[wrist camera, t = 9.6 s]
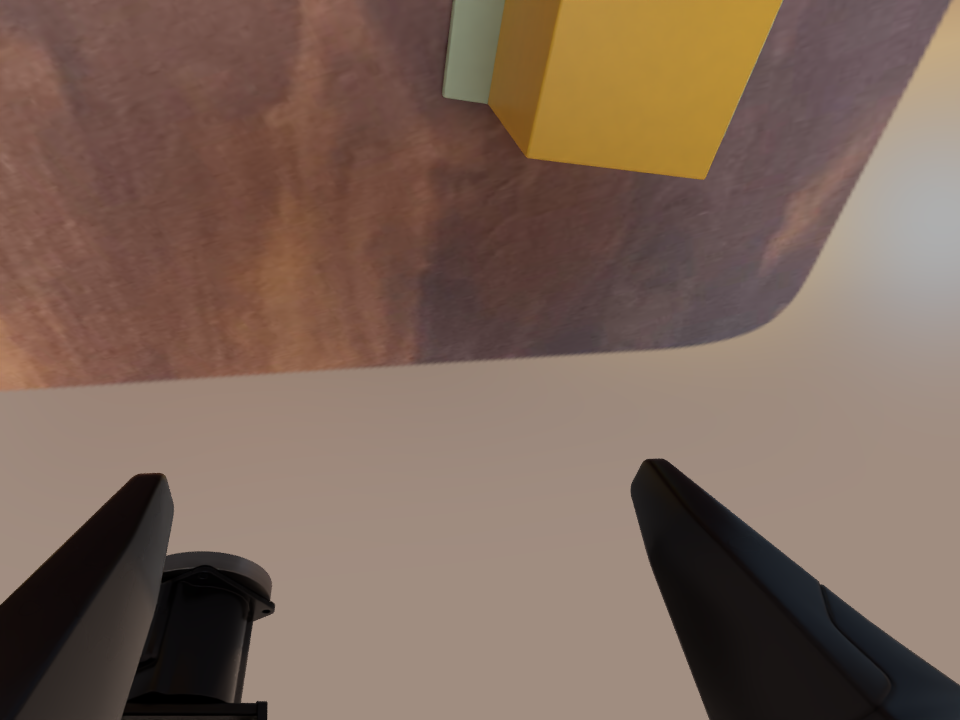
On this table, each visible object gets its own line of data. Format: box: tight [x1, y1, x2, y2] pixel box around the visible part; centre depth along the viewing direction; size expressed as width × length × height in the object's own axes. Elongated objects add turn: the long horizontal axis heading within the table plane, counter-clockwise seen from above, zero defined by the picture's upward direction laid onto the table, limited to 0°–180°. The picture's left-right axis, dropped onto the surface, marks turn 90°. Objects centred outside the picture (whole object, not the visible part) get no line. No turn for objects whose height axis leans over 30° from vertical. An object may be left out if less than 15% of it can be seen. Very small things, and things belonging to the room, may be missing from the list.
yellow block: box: [488, 0, 783, 180], centre depth 14 cm, size 5×5×5 cm
